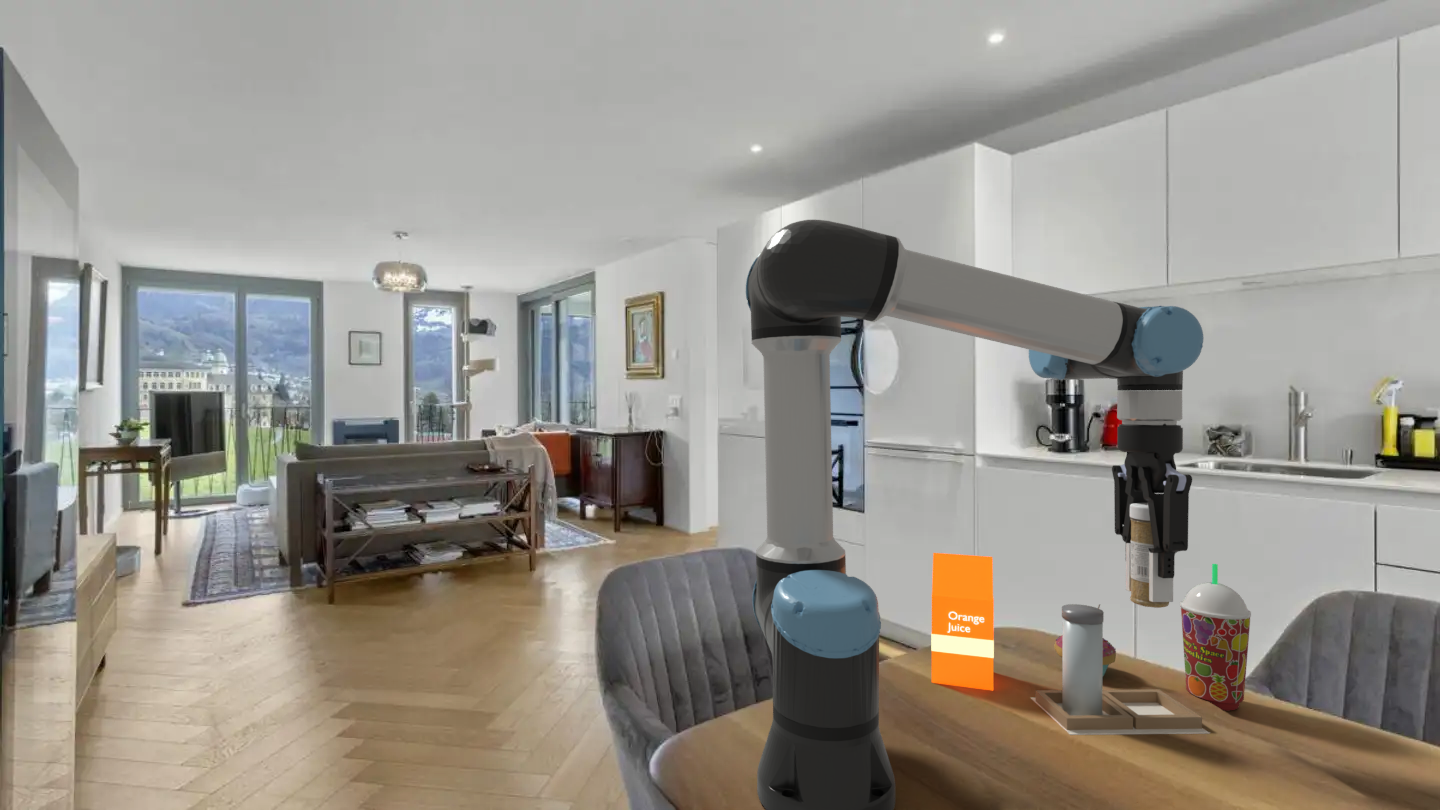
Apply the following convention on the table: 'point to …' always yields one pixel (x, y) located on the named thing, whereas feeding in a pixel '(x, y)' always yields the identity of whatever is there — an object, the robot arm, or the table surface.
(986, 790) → the table surface
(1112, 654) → the cupcake
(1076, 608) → the white bottle
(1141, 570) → the spice jar
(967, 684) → the orange juice
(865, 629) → the robot arm
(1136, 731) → the frame
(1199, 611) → the smoothie
